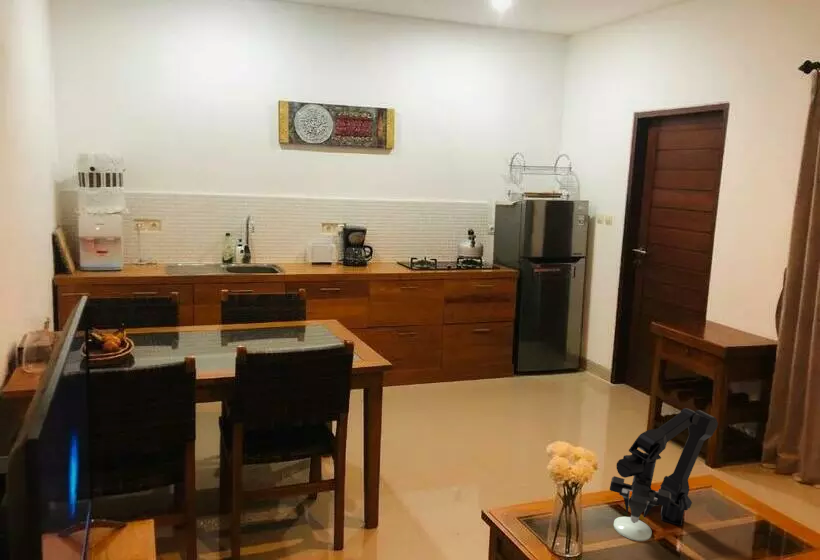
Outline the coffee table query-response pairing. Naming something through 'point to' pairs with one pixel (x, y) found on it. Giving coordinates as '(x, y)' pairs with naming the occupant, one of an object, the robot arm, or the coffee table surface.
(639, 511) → the light bulb
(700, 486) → the coffee table surface
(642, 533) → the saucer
